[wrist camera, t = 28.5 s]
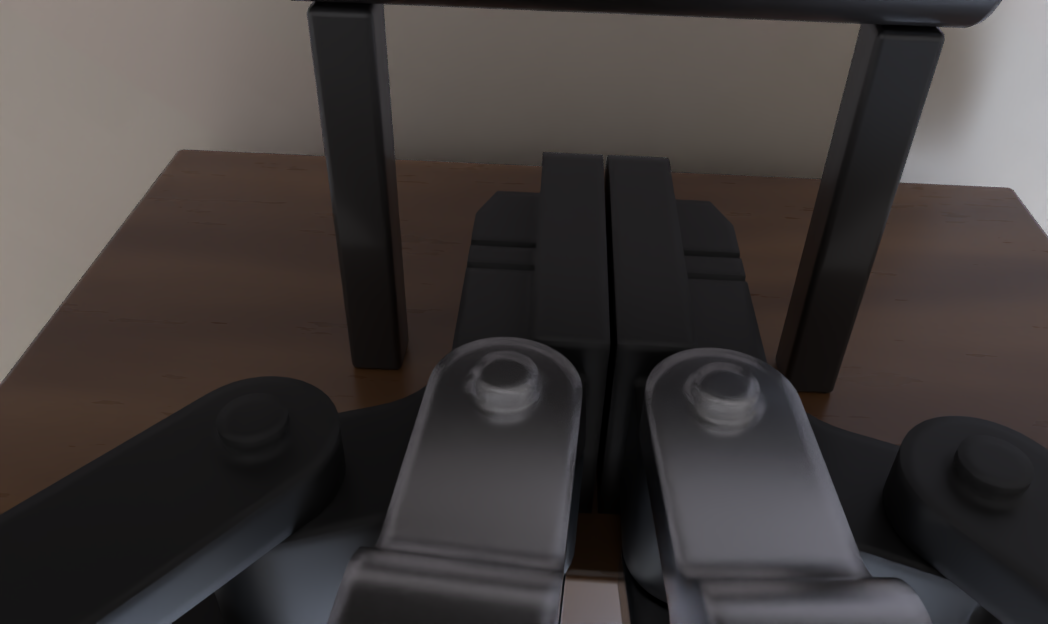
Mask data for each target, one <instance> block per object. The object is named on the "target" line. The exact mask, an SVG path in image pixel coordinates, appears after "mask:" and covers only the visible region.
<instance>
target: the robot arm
mask: <svg viewBox="0 0 1048 624" xmlns="http://www.w3.org/2000/svg"><path fill="white" fill-rule="evenodd" d="M745 278H746V275H745V270H744V266H743V262H742V258H740V250H739V246H738V242H737V238H736V234H735V230H734V226H733V225H732V223H731V222H730V221H729V220H728V219H727V218H726V217H725V216H724V215H723V214H722V213H721V212H720V211H719V210H718V209H717V208H716V207H715V206H714V205H713V204H712V203H711V201H702V200H681V199H675V194H674V188H673V181H672V175H671V169H670V163H669V159H668V158H660V157H639V156H618V155H608V156H607V160H606V167H605V176H604V166H603V155H593V154H572V153H551V152H543V160H542V174H541V188H540V193H534V192H514V191H497V192H496V193H495V194H494V195H493V196H492V197H491V198H490V199H489V200H488V201H487V202H486V203H485V204H484V205H483V206H482V207H481V208H480V209H479V210H478V211H477V212H476V215H475V220H474V226H473V232H472V237H471V245H470V249H469V254H468V260H467V267H466V271H465V277H464V283H463V288H462V294H461V300H460V305H459V311H458V317H457V322H456V328H455V334H454V339H453V345H452V350H451V352H450V353H448V354H447V355H445V356H444V357H443V358H442V359H441V360H440V361H439V362H438V363H437V365H436V366H435V367H434V369H433V370H432V373H431V375H430V377H429V380H428V383H427V385H426V386H425V387H423V388H422V389H420V390H419V391H417V392H415V393H413V394H411V395H409V396H407V397H404V398H402V399H399V400H396V401H393V402H389V403H385V404H381V405H377V406H371V407H366V408H361V409H356V410H350V411H345V412H340V413H338V412H337V409H336V407H335V405H334V403H333V402H332V400H331V399H330V398H329V396H327V395H326V394H325V393H324V392H323V391H322V390H320V389H319V388H317V387H315V386H314V385H312V384H309V383H307V382H304V381H302V380H298V379H294V378H289V377H279V376H261V377H254V378H247V379H243V380H239V381H235V382H232V383H230V384H227V385H224V386H221V387H219V388H217V389H215V390H213V391H211V392H209V393H207V394H206V395H204V396H202V397H201V398H199V399H197V400H195V401H194V402H192V403H190V404H189V405H187V406H185V407H184V408H182V409H180V410H178V411H177V412H175V413H173V414H172V415H170V416H168V417H166V418H165V419H163V420H161V421H160V422H158V423H156V424H154V425H153V426H151V427H149V428H148V429H146V430H144V431H142V432H141V433H139V434H137V435H136V436H134V437H132V438H130V439H129V440H127V441H125V442H124V443H122V444H120V445H118V446H117V447H115V448H113V449H112V450H110V451H108V452H106V453H105V454H103V455H101V456H100V457H98V458H96V459H94V460H93V461H91V462H89V463H88V464H86V465H84V466H83V467H81V468H79V469H77V470H76V471H74V472H72V473H71V474H69V475H67V476H65V477H64V478H62V479H60V480H59V481H57V482H55V483H53V484H52V485H50V486H48V487H47V488H45V489H43V490H41V491H40V492H38V493H36V494H35V495H33V496H31V497H29V498H28V499H26V500H24V501H23V502H21V503H19V504H17V505H16V506H14V507H12V508H11V509H9V510H7V511H5V512H4V513H2V514H0V624H561V618H562V608H563V599H564V589H565V580H566V572H567V570H568V568H569V566H570V565H571V562H572V559H573V556H574V551H575V542H576V532H577V522H578V513H591V512H592V503H593V494H594V485H595V476H596V467H597V504H598V513H601V514H619V515H621V535H622V546H621V553H620V560H619V566H618V585H617V586H618V594H619V602H620V610H621V618H622V624H1048V449H1046V448H1045V447H1043V446H1042V445H1040V444H1039V443H1037V442H1036V441H1034V440H1032V439H1030V438H1029V437H1027V436H1025V435H1024V434H1022V433H1020V432H1018V431H1015V430H1013V429H1011V428H1009V427H1007V426H1004V425H1001V424H998V423H995V422H992V421H988V420H984V419H980V418H975V417H967V416H942V417H935V418H932V419H928V420H925V421H923V422H921V423H919V424H917V425H916V426H914V427H913V428H912V429H911V430H910V431H908V433H907V434H906V436H905V437H904V439H903V441H902V443H901V446H898V445H895V444H892V443H888V442H885V441H881V440H878V439H874V438H871V437H868V436H864V435H861V434H857V433H854V432H850V431H847V430H844V429H841V428H838V427H835V426H832V425H830V424H828V423H826V422H824V421H821V420H819V419H817V418H816V417H814V416H812V415H810V414H809V413H807V412H805V409H804V407H803V404H802V402H801V399H800V397H799V395H798V393H797V391H796V389H795V388H794V386H793V385H792V384H791V383H790V381H789V380H788V379H787V378H786V377H785V376H784V375H783V374H782V373H781V372H779V371H778V370H776V369H775V368H774V367H772V366H771V365H769V364H767V360H766V356H765V352H764V348H763V344H762V340H761V336H760V331H759V327H758V323H757V319H756V315H755V311H754V307H753V303H752V299H751V295H750V291H749V287H748V283H747V282H746V281H745Z"/></svg>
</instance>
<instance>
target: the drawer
mask: <svg viewBox="0 0 1048 624" xmlns="http://www.w3.org/2000/svg"><path fill="white" fill-rule="evenodd" d="M292 1H313V2H312V4H311V5H310V6H309V8H308V11H307V18H308V26H309V34H310V41H311V49H312V57H313V65H314V73H315V80H316V88H317V96H318V104H319V111H320V119H321V127H322V135H323V142H324V150H325V156H312V155H291V154H269V153H247V152H226V151H204V150H180V151H178V152H177V153H176V154H175V156H174V157H173V158H172V160H171V161H170V162H169V164H168V165H167V166H166V168H165V169H164V170H163V172H162V173H161V174H160V175H159V177H158V178H157V179H156V181H155V182H154V183H153V185H152V186H151V187H150V189H149V190H148V191H147V192H146V194H145V195H144V196H143V198H142V199H141V200H140V202H139V203H138V204H137V206H136V207H135V208H134V209H133V211H132V212H131V213H130V215H129V216H128V217H127V219H126V220H125V221H124V223H123V224H122V225H121V227H120V228H119V229H118V230H117V232H116V233H115V234H114V236H113V237H112V238H111V240H110V241H109V242H108V244H107V245H106V246H105V247H104V249H103V250H102V251H101V253H100V254H99V255H98V257H97V258H96V259H95V261H94V262H93V263H92V264H91V266H90V267H89V268H88V270H87V271H86V272H85V274H84V275H83V276H82V278H81V279H80V280H79V282H78V283H77V284H76V285H75V287H74V288H73V289H72V291H71V292H70V293H69V295H68V296H67V297H66V299H65V300H64V301H63V302H62V304H61V305H60V306H59V308H58V309H57V310H56V312H55V313H54V314H53V316H52V317H51V318H50V319H49V321H48V322H47V323H46V325H45V326H44V327H43V329H42V330H41V331H40V333H39V334H38V335H37V337H36V338H35V339H34V340H33V342H32V343H31V344H30V346H29V347H28V348H27V350H26V351H25V352H24V354H23V355H22V356H21V357H20V359H19V360H18V361H17V363H16V364H15V365H14V367H13V368H12V369H11V371H10V372H9V373H8V374H7V376H6V377H5V378H4V380H3V381H2V382H1V384H0V514H2V513H4V512H5V511H7V510H9V509H11V508H12V507H14V506H16V505H17V504H19V503H21V502H23V501H24V500H26V499H28V498H29V497H31V496H33V495H35V494H36V493H38V492H40V491H41V490H43V489H45V488H47V487H48V486H50V485H52V484H53V483H55V482H57V481H59V480H60V479H62V478H64V477H65V476H67V475H69V474H71V473H72V472H74V471H76V470H77V469H79V468H81V467H83V466H84V465H86V464H88V463H89V462H91V461H93V460H94V459H96V458H98V457H100V456H101V455H103V454H105V453H106V452H108V451H110V450H112V449H113V448H115V447H117V446H118V445H120V444H122V443H124V442H125V441H127V440H129V439H130V438H132V437H134V436H136V435H137V434H139V433H141V432H142V431H144V430H146V429H148V428H149V427H151V426H153V425H154V424H156V423H158V422H160V421H161V420H163V419H165V418H166V417H168V416H170V415H172V414H173V413H175V412H177V411H178V410H180V409H182V408H184V407H185V406H187V405H189V404H190V403H192V402H194V401H195V400H197V399H199V398H201V397H202V396H204V395H206V394H207V393H209V392H211V391H213V390H215V389H217V388H219V387H221V386H224V385H227V384H230V383H232V382H235V381H239V380H243V379H247V378H254V377H261V376H279V377H289V378H294V379H298V380H302V381H304V382H307V383H309V384H312V385H314V386H315V387H317V388H319V389H320V390H322V391H323V392H324V393H325V394H326V395H327V396H329V398H330V399H331V400H332V402H333V403H334V405H335V407H336V409H337V412H338V413H340V412H345V411H350V410H356V409H361V408H366V407H371V406H377V405H381V404H385V403H389V402H393V401H396V400H399V399H402V398H404V397H407V396H409V395H411V394H413V393H415V392H417V391H419V390H420V389H422V388H423V387H425V386H426V385H427V383H428V380H429V377H430V375H431V373H432V370H433V369H434V367H435V366H436V365H437V363H438V362H439V361H440V360H441V359H442V358H443V357H444V356H445V355H447V354H448V353H450V352H451V350H452V345H453V339H454V334H455V328H456V322H457V317H458V311H459V305H460V300H461V294H462V288H463V283H464V277H465V271H466V267H467V260H468V254H469V249H470V245H471V237H472V232H473V226H474V220H475V215H476V212H477V211H478V210H479V209H480V208H481V207H482V206H483V205H484V204H485V203H486V202H487V201H488V200H489V199H490V198H491V197H492V196H493V195H494V194H495V193H496V192H497V191H514V192H534V193H540V188H541V174H542V166H528V165H507V164H485V163H464V162H442V161H420V160H399V159H395V151H394V138H393V125H392V112H391V98H390V85H389V72H388V59H387V45H386V32H385V19H384V5H383V4H390V5H414V6H439V7H463V8H488V9H512V10H537V11H561V12H586V13H610V14H635V15H659V16H684V17H708V18H733V19H757V20H781V21H806V22H830V23H855V24H861V26H860V30H859V34H858V38H857V42H856V46H855V50H854V54H853V58H852V61H851V65H850V69H849V73H848V77H847V81H846V85H845V89H844V93H843V97H842V100H841V104H840V108H839V112H838V116H837V120H836V124H835V128H834V132H833V135H832V139H831V143H830V147H829V151H828V155H827V159H826V163H825V167H824V171H823V174H822V178H821V179H809V178H788V177H766V176H745V175H723V174H701V173H680V172H671V175H672V181H673V188H674V194H675V199H681V200H702V201H711V203H712V204H713V205H714V206H715V207H716V208H717V209H718V210H719V211H720V212H721V213H722V214H723V215H724V216H725V217H726V218H727V219H728V220H729V221H730V222H731V223H732V225H733V226H734V230H735V234H736V238H737V242H738V246H739V250H740V258H742V262H743V266H744V270H745V275H746V278H745V281H746V282H747V283H748V287H749V291H750V295H751V299H752V303H753V307H754V311H755V315H756V319H757V323H758V327H759V331H760V336H761V340H762V344H763V348H764V352H765V356H766V360H767V364H769V365H771V366H772V367H774V368H775V369H776V370H778V371H779V372H781V373H782V374H783V375H784V376H785V377H786V378H787V379H788V380H789V381H790V383H791V384H792V385H793V386H794V388H795V389H796V391H797V393H798V395H799V397H800V399H801V402H802V404H803V407H804V409H805V412H807V413H809V414H810V415H812V416H814V417H816V418H817V419H819V420H821V421H824V422H826V423H828V424H830V425H832V426H835V427H838V428H841V429H844V430H847V431H850V432H854V433H857V434H861V435H864V436H868V437H871V438H874V439H878V440H881V441H885V442H888V443H892V444H895V445H898V446H901V443H902V441H903V439H904V437H905V436H906V434H907V433H908V431H910V430H911V429H912V428H913V427H914V426H916V425H917V424H919V423H921V422H923V421H925V420H928V419H932V418H935V417H942V416H967V417H975V418H980V419H984V420H988V421H992V422H995V423H998V424H1001V425H1004V426H1007V427H1009V428H1011V429H1013V430H1015V431H1018V432H1020V433H1022V434H1024V435H1025V436H1027V437H1029V438H1030V439H1032V440H1034V441H1036V442H1037V443H1039V444H1040V445H1042V446H1043V447H1045V448H1046V449H1048V236H1047V235H1046V233H1045V232H1044V231H1043V229H1042V228H1041V227H1040V225H1039V224H1038V223H1037V221H1036V220H1035V219H1034V217H1033V216H1032V215H1031V213H1030V212H1029V210H1028V209H1027V208H1026V206H1025V205H1024V204H1023V202H1022V201H1021V200H1020V198H1019V197H1018V196H1017V194H1016V193H1015V192H1014V190H1012V189H1010V188H1004V187H982V186H961V185H939V184H918V183H899V182H900V179H901V176H902V172H903V169H904V166H905V163H906V160H907V157H908V154H909V150H910V147H911V144H912V141H913V138H914V135H915V132H916V128H917V125H918V122H919V119H920V116H921V113H922V110H923V106H924V103H925V100H926V97H927V94H928V91H929V88H930V84H931V81H932V78H933V75H934V72H935V69H936V66H937V62H938V59H939V56H940V53H941V50H942V47H943V44H944V40H945V38H944V33H943V32H942V31H941V30H940V28H939V27H953V28H966V27H970V26H973V25H976V24H978V23H980V22H982V21H984V20H985V19H986V18H987V17H989V16H990V15H991V14H992V13H993V11H994V10H995V9H996V8H997V6H998V5H999V4H1000V2H1001V1H1002V0H292ZM604 176H605V169H604ZM621 546H622V535H621V515H619V514H601V513H598V504H597V467H596V476H595V485H594V494H593V503H592V512H591V513H578V522H577V532H576V542H575V551H574V556H573V559H572V562H571V565H570V566H569V568H568V570H567V572H566V580H565V589H564V599H563V608H562V618H561V624H622V618H621V610H620V602H619V594H618V586H617V585H618V566H619V560H620V553H621Z"/></svg>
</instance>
